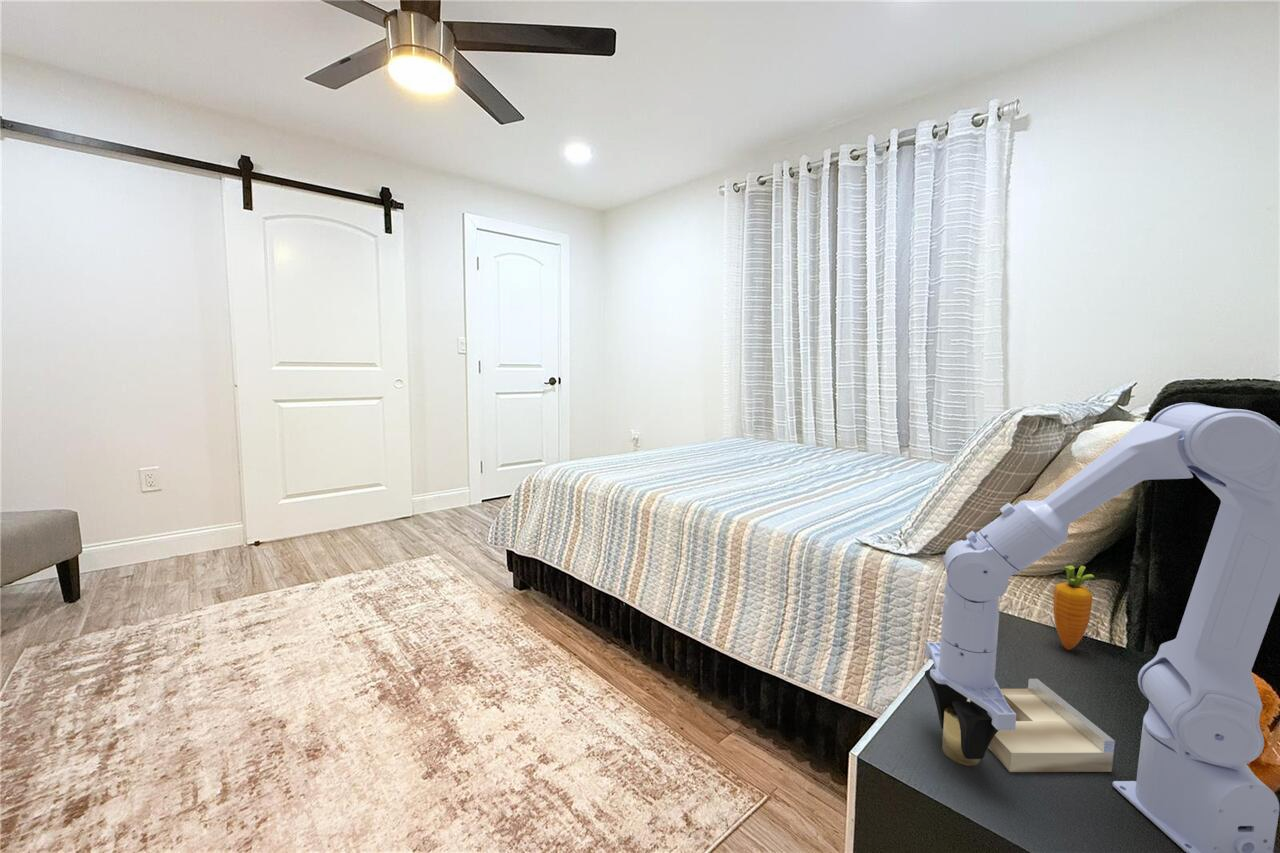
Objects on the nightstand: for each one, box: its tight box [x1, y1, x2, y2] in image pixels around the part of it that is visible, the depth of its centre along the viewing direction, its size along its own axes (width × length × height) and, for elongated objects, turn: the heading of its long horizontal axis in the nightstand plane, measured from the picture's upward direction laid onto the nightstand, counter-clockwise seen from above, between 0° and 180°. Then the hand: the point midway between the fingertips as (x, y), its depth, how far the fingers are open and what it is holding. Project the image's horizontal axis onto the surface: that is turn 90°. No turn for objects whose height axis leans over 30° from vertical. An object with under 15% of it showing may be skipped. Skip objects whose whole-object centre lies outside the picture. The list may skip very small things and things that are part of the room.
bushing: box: [941, 706, 981, 767], centre depth 64 cm, size 4×4×5 cm
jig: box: [967, 678, 1116, 773], centre depth 66 cm, size 12×12×4 cm
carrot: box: [1053, 565, 1095, 651], centre depth 85 cm, size 5×5×15 cm
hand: (961, 742), depth 64 cm, fingers closed on bushing, 4 cm apart
